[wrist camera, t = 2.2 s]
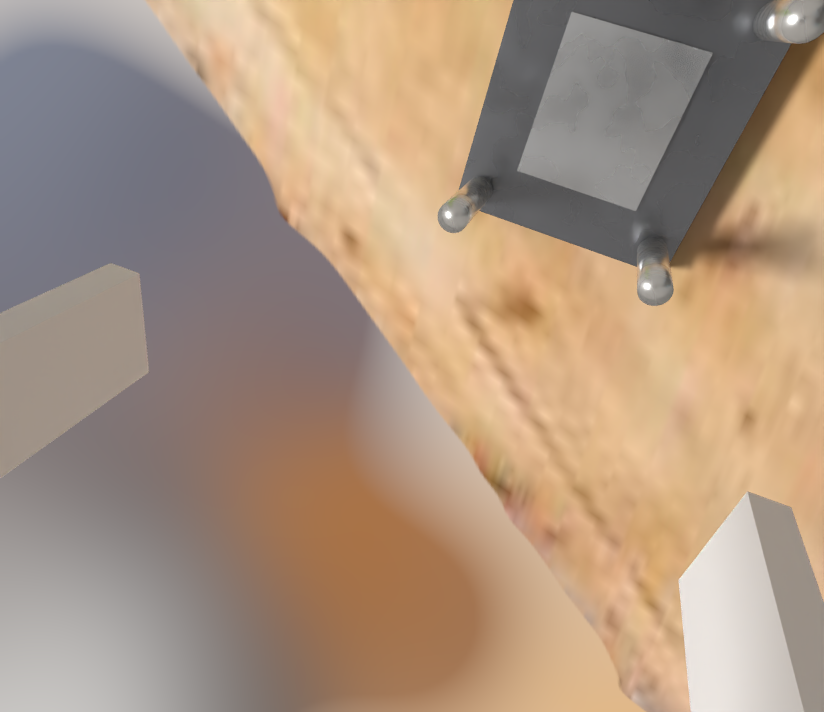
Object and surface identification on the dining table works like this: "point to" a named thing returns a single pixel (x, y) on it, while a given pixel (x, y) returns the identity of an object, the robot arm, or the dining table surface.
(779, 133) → the dining table surface
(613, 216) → the display stand
